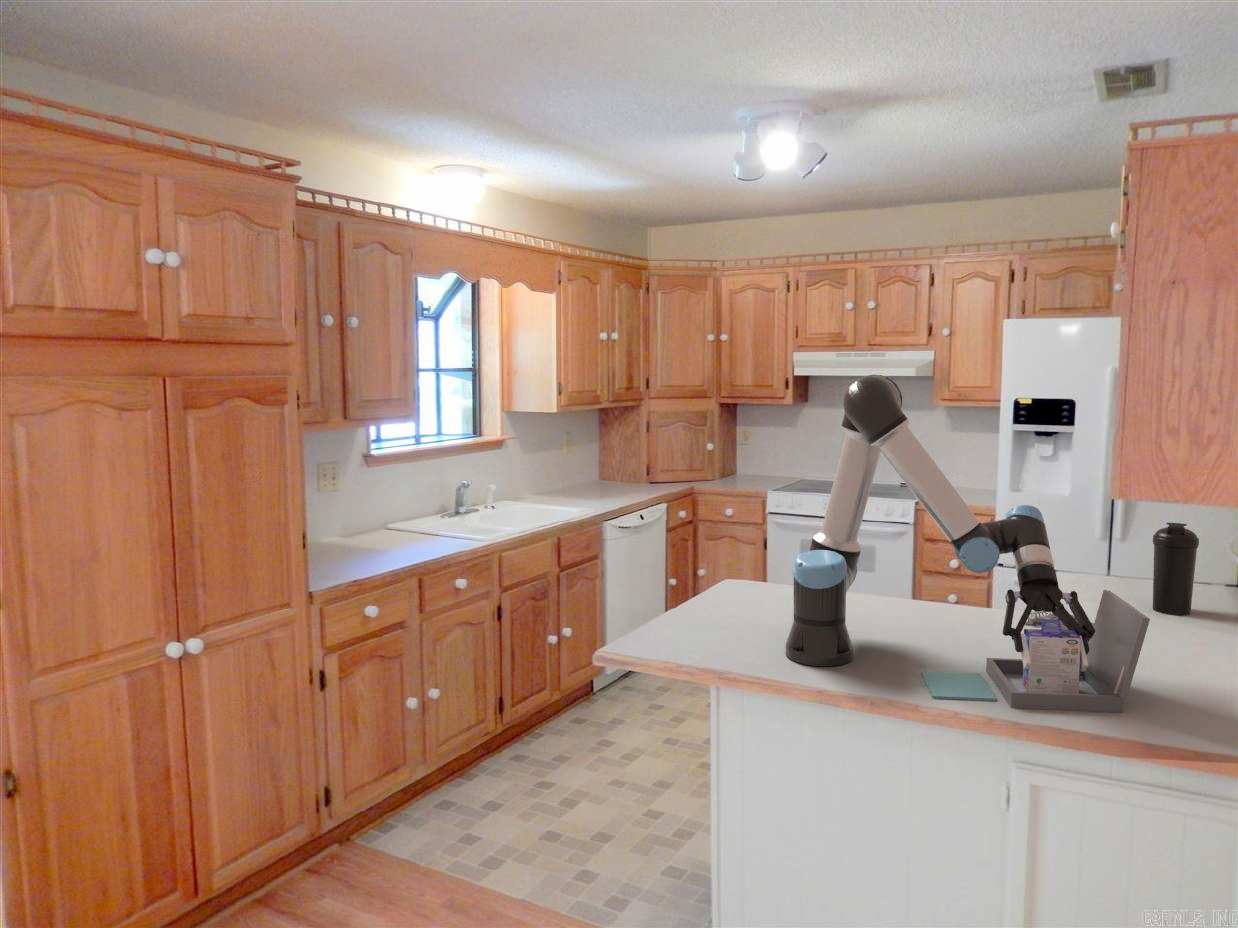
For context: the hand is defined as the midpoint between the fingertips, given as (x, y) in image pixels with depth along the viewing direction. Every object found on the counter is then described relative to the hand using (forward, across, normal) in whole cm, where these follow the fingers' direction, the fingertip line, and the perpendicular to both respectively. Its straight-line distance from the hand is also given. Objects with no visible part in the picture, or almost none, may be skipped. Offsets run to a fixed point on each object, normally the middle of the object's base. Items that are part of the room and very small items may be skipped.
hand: (1055, 667), depth 176 cm
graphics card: (-27, -16, -36) cm, 47 cm away
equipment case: (+2, -2, -6) cm, 7 cm away
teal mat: (+2, +18, -6) cm, 19 cm away
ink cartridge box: (+2, 0, -7) cm, 7 cm away
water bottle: (-42, -48, -50) cm, 81 cm away
